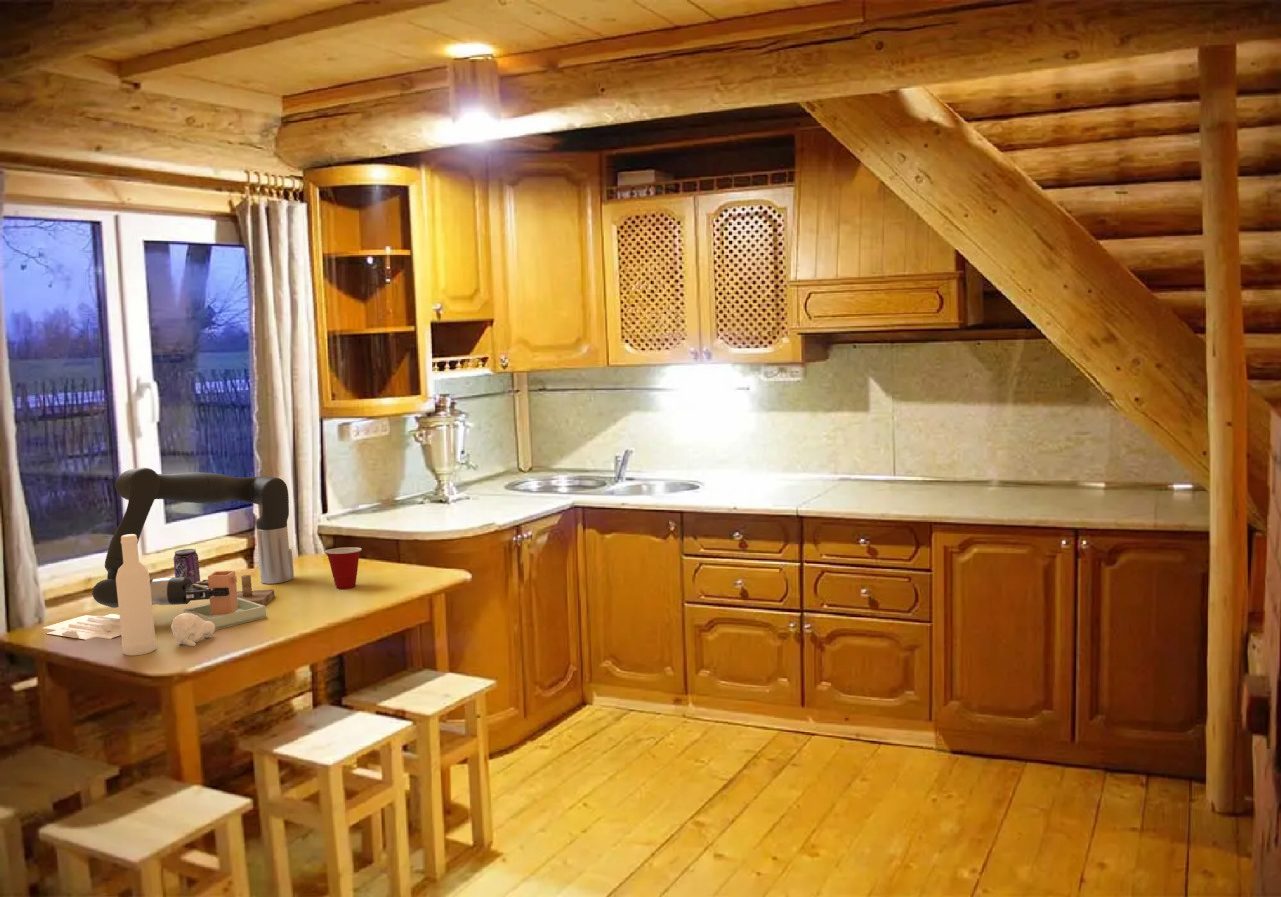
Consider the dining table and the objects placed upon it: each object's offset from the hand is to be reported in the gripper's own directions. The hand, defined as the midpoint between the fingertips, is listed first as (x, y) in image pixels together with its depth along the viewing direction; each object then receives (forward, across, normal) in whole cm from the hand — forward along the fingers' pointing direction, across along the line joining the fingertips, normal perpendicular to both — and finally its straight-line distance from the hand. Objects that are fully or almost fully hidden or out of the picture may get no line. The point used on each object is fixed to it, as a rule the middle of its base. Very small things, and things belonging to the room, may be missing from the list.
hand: (232, 588), depth 312 cm
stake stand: (-2, +18, +9) cm, 20 cm away
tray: (-3, 0, +9) cm, 9 cm away
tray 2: (-37, -2, +10) cm, 38 cm away
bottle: (-15, -27, +9) cm, 32 cm away
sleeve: (-3, 0, +6) cm, 7 cm away
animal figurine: (-3, -20, +9) cm, 23 cm away
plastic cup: (+24, +32, +9) cm, 41 cm away
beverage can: (-27, +38, +9) cm, 47 cm away
